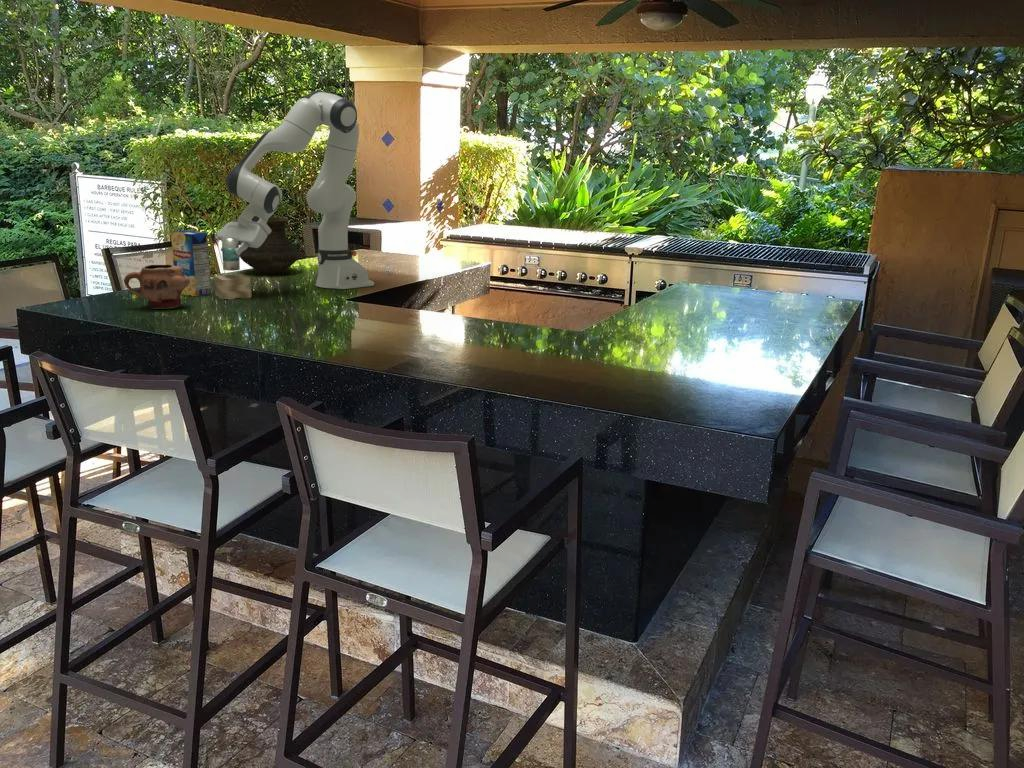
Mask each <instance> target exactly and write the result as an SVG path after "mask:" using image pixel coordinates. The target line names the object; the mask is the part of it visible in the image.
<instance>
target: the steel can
mask: <svg viewBox="0 0 1024 768" xmlns="http://www.w3.org/2000/svg"><path fill="white" fill-rule="evenodd" d="M238 247H240V245H239V241H238V238H234V237H223V238H222V241H221V248H222V251H221V253H222V255H221V256H222V257H221V258H222V265H223V266H222V268H223V270H224V271H233V272H234V271H240V269H241V268H240V267H241V266H240V265H241V262H240V260H241V258H240V257H239V255H236V254H235V253H234V250H235V249H236V248H238Z"/></svg>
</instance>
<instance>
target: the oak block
mask: <svg viewBox="0 0 1024 768" xmlns="http://www.w3.org/2000/svg"><path fill="white" fill-rule="evenodd" d="M213 281H214V283H213V284H214V285H213V286H214V294H215V297H217V296H218V297H217V298H219V299H221V300H222V299H223V301H225V300H224V299H228V300H236V299H235V298H242V299H252V298H251V297H252V283H251V282H252V281H251V277H249V276H247V275H245V274H242V273H237V274H221V275H220V274H219V275H213Z"/></svg>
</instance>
